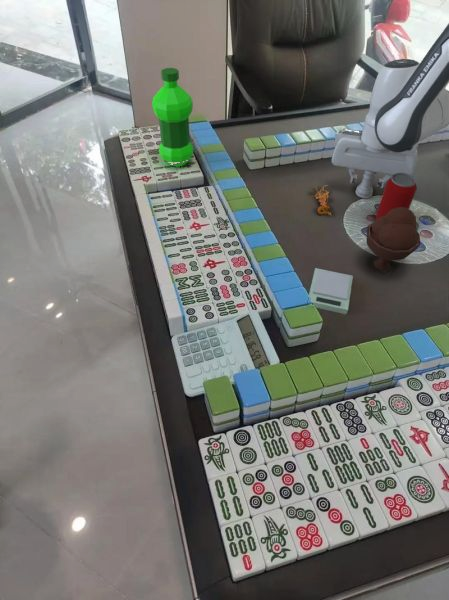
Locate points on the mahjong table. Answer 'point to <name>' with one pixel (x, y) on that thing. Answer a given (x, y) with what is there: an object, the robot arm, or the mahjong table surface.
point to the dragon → (323, 200)
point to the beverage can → (397, 193)
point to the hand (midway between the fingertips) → (366, 184)
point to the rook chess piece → (366, 185)
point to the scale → (331, 290)
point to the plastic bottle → (173, 119)
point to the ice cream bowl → (393, 236)
